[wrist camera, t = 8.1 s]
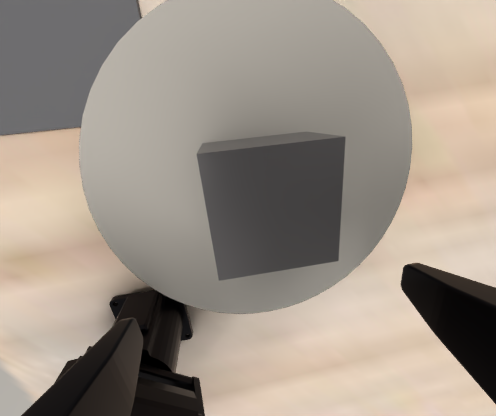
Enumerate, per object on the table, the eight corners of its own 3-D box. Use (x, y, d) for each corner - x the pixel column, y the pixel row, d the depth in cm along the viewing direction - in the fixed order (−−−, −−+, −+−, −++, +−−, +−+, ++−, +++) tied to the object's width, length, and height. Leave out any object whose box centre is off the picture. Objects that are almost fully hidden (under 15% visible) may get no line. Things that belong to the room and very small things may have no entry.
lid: (381, 281, 12) (437, 335, 9) (141, 324, 11) (112, 401, 8) (425, -21, 7) (567, -117, 4) (24, 1, 6) (-144, -103, 3)
